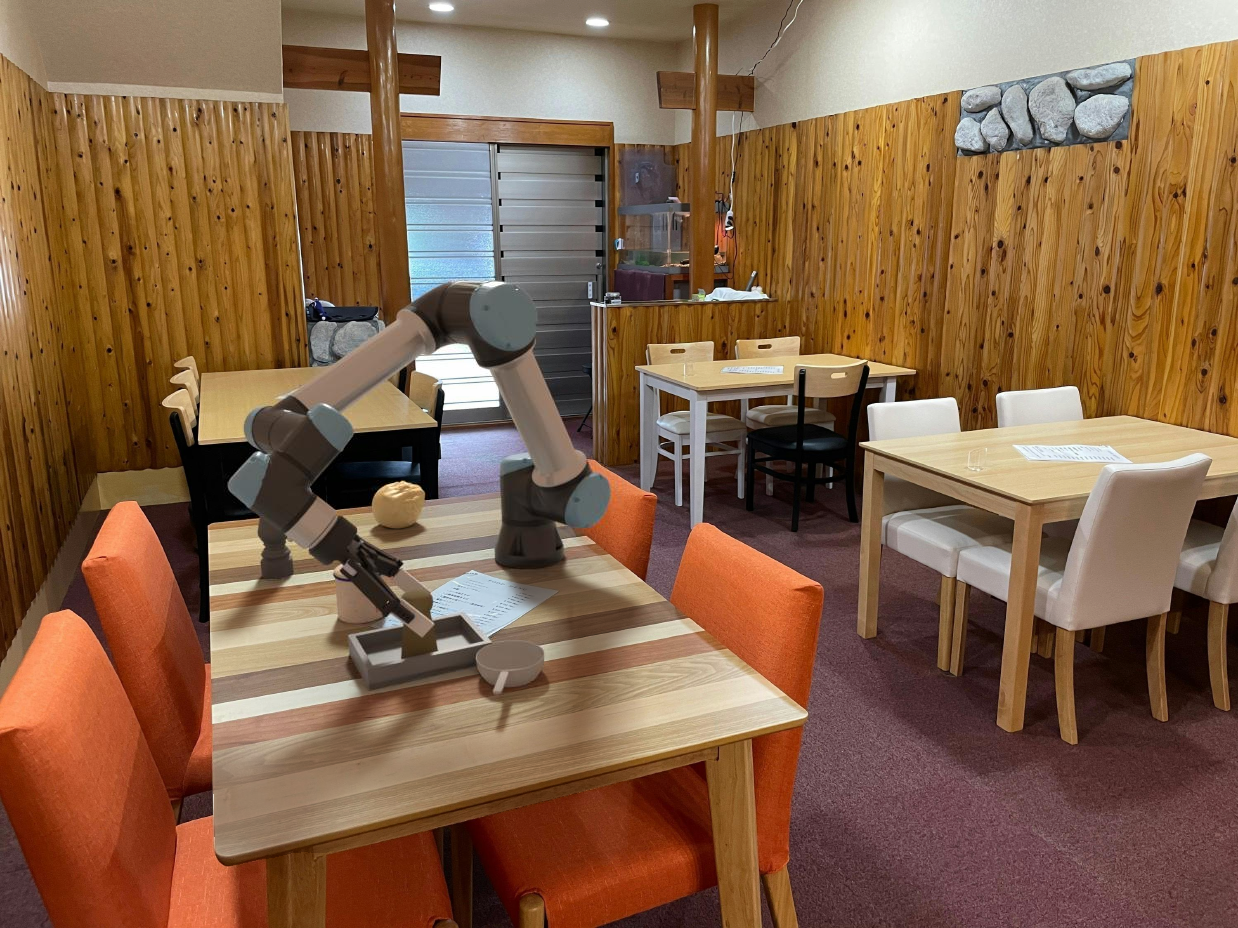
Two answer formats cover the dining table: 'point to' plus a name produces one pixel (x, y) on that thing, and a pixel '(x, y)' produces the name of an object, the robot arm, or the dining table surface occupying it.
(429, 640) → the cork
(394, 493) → the pale yellow lumpy ball
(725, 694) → the dining table surface
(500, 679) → the saucepan
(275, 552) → the candle holder
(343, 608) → the teacup with lid
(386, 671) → the tray
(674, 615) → the dining table surface
